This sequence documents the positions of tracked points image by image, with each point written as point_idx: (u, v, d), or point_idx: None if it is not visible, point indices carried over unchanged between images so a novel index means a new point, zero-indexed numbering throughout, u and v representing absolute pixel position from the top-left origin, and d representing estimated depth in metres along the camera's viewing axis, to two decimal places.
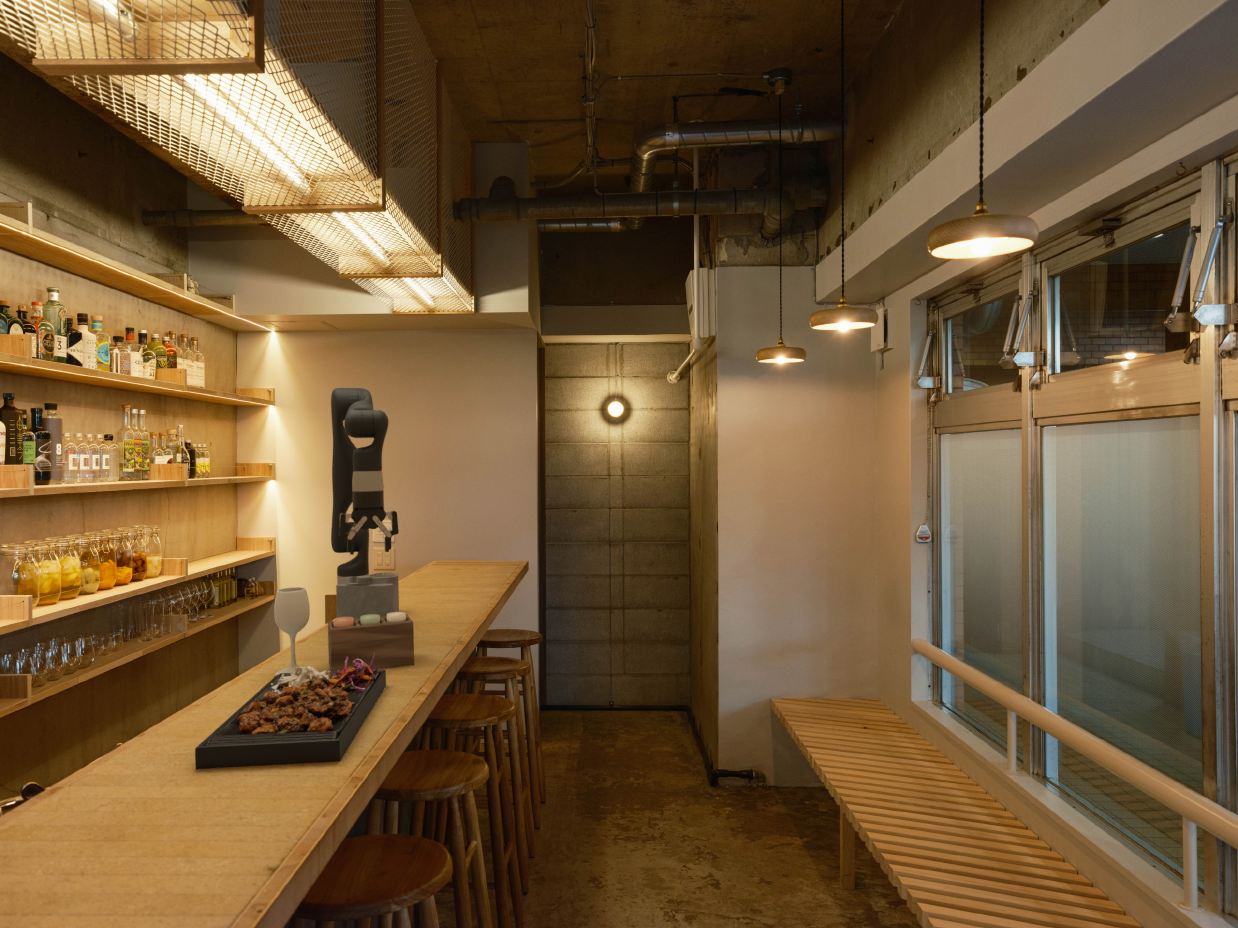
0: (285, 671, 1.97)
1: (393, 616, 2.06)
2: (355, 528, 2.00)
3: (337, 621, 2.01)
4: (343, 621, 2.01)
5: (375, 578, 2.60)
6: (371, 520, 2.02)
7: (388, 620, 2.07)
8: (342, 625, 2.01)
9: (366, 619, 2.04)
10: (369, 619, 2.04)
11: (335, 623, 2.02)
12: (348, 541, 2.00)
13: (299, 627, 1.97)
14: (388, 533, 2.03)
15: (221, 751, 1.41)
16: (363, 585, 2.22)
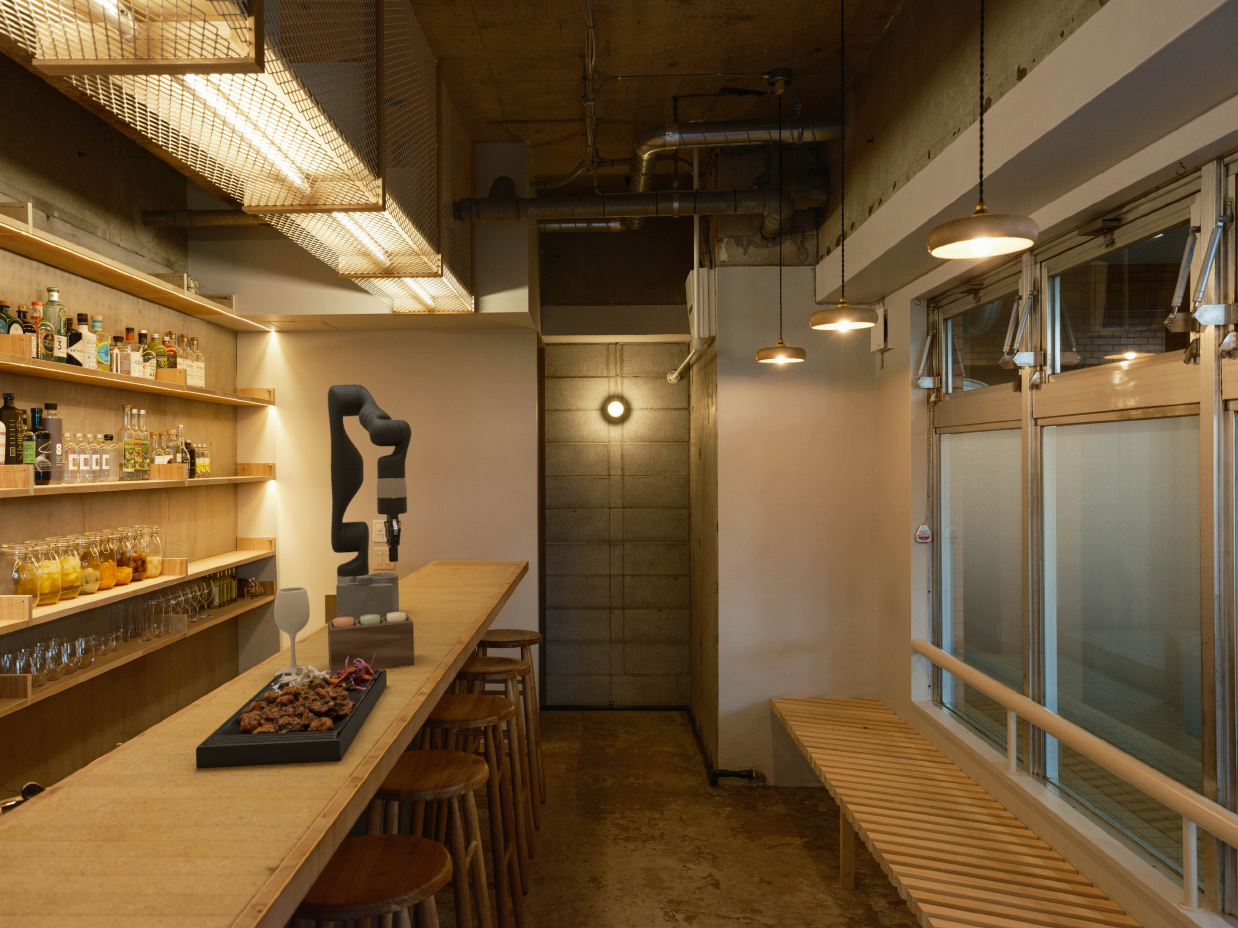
0: (285, 671, 1.97)
1: (393, 616, 2.06)
2: None
3: (337, 621, 2.01)
4: (343, 621, 2.01)
5: (375, 578, 2.60)
6: None
7: (388, 620, 2.07)
8: (342, 625, 2.01)
9: (366, 619, 2.04)
10: (369, 619, 2.04)
11: (335, 623, 2.02)
12: None
13: (299, 627, 1.97)
14: None
15: (222, 750, 1.41)
16: (363, 585, 2.22)
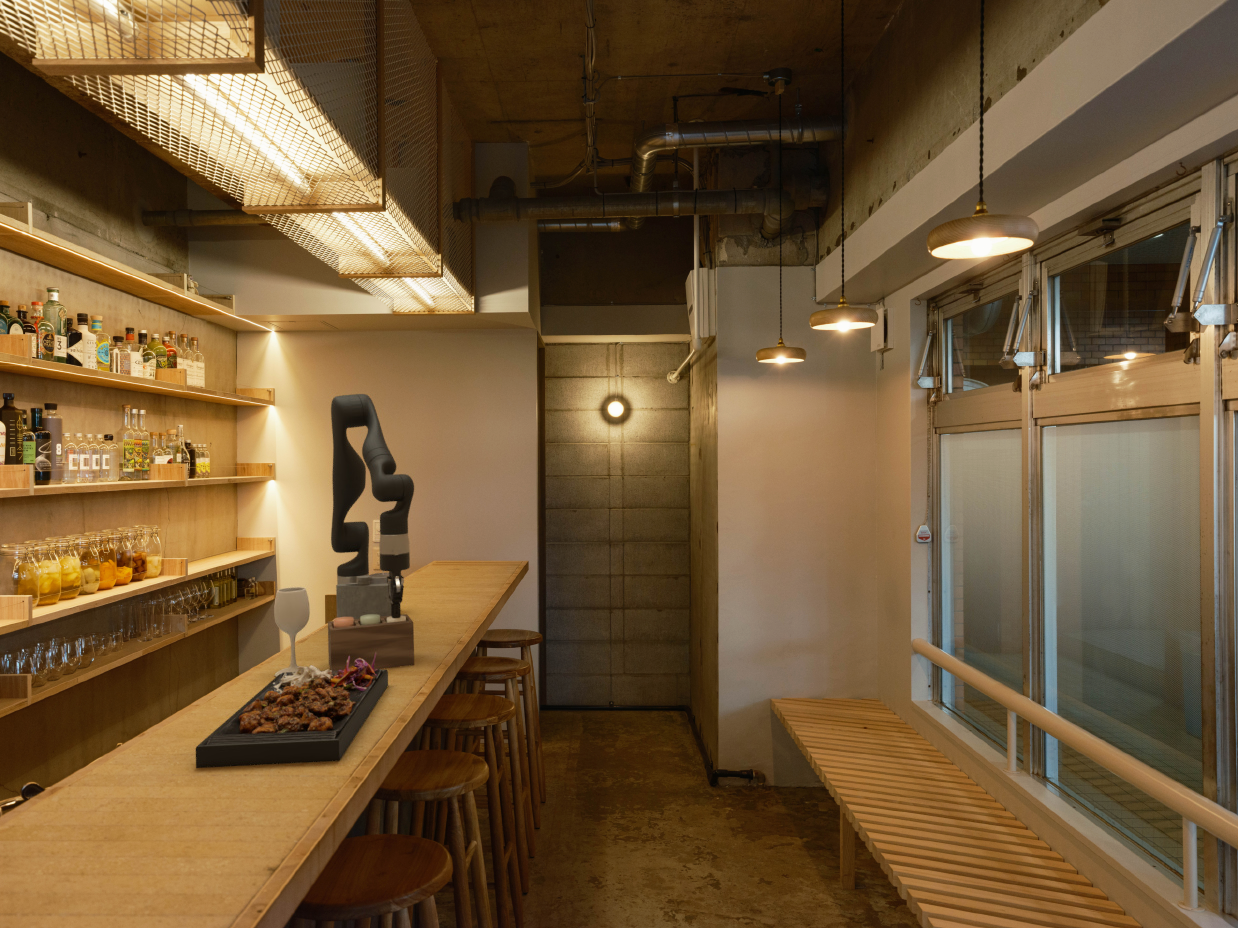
0: None
1: (393, 620, 2.06)
2: None
3: (337, 621, 2.01)
4: (343, 621, 2.01)
5: (375, 578, 2.60)
6: None
7: None
8: (342, 625, 2.01)
9: (366, 619, 2.04)
10: (369, 619, 2.04)
11: (335, 623, 2.02)
12: (398, 605, 2.08)
13: (299, 627, 1.97)
14: None
15: (221, 750, 1.41)
16: (363, 585, 2.22)
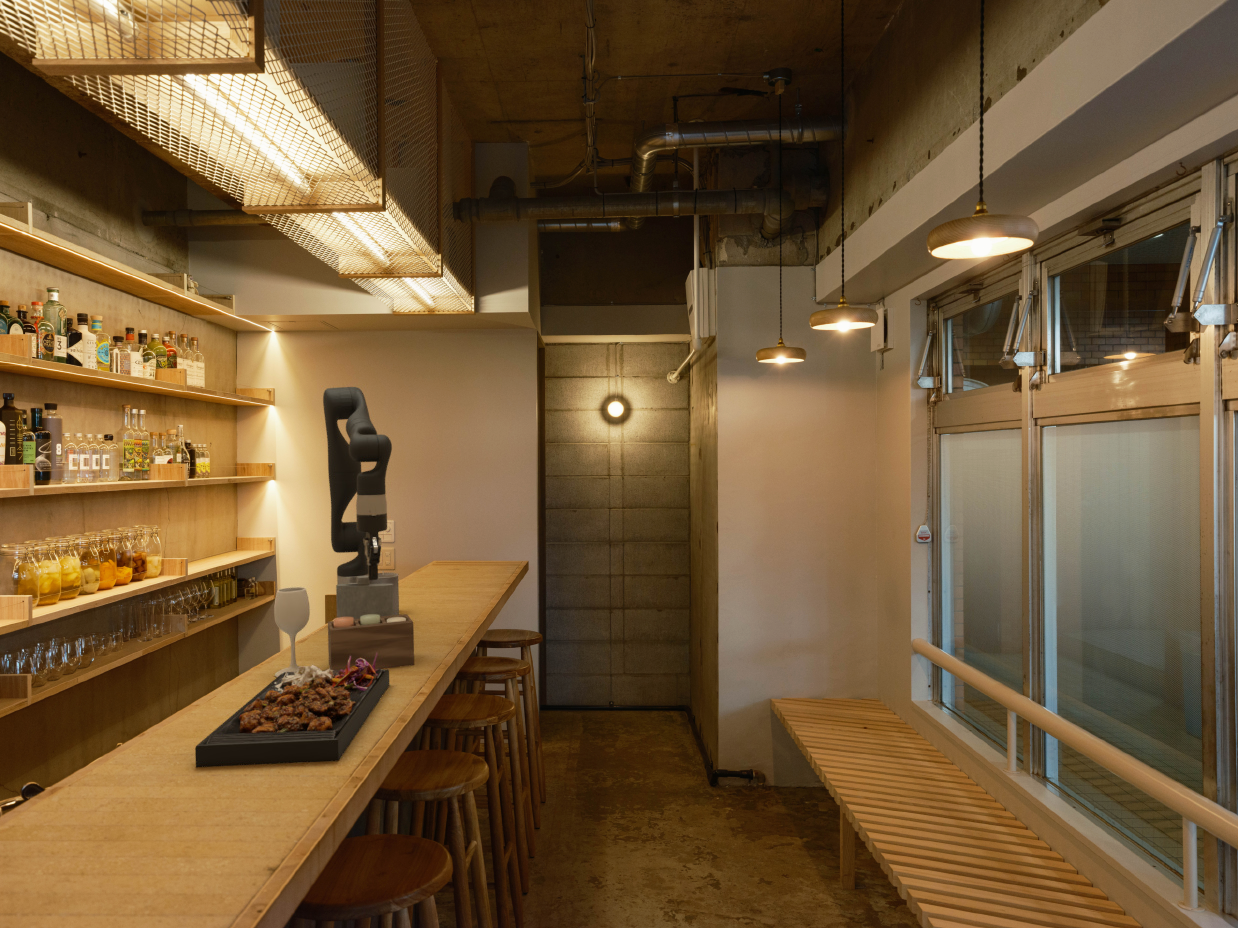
0: (285, 671, 1.97)
1: (393, 621, 2.06)
2: None
3: (337, 621, 2.01)
4: (343, 621, 2.01)
5: None
6: None
7: None
8: (342, 625, 2.01)
9: (366, 619, 2.04)
10: (369, 619, 2.04)
11: (335, 623, 2.02)
12: None
13: (299, 627, 1.97)
14: None
15: (221, 749, 1.42)
16: (363, 585, 2.22)
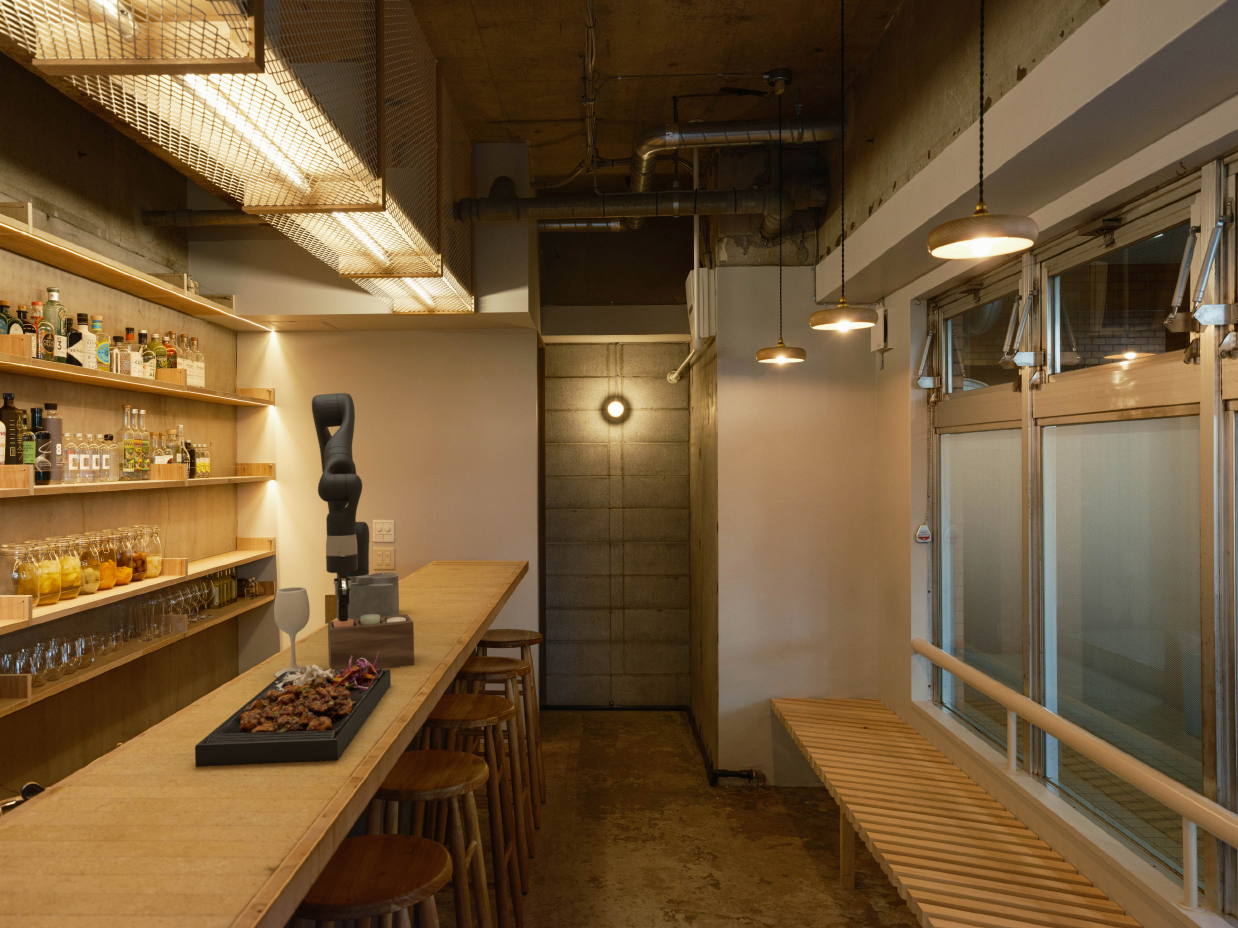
0: (285, 671, 1.97)
1: (393, 621, 2.06)
2: None
3: (337, 623, 2.01)
4: (343, 623, 2.01)
5: (375, 578, 2.60)
6: None
7: None
8: None
9: (366, 619, 2.04)
10: (369, 619, 2.04)
11: (335, 625, 2.02)
12: (346, 608, 2.03)
13: (299, 627, 1.97)
14: None
15: (220, 749, 1.42)
16: (363, 585, 2.22)
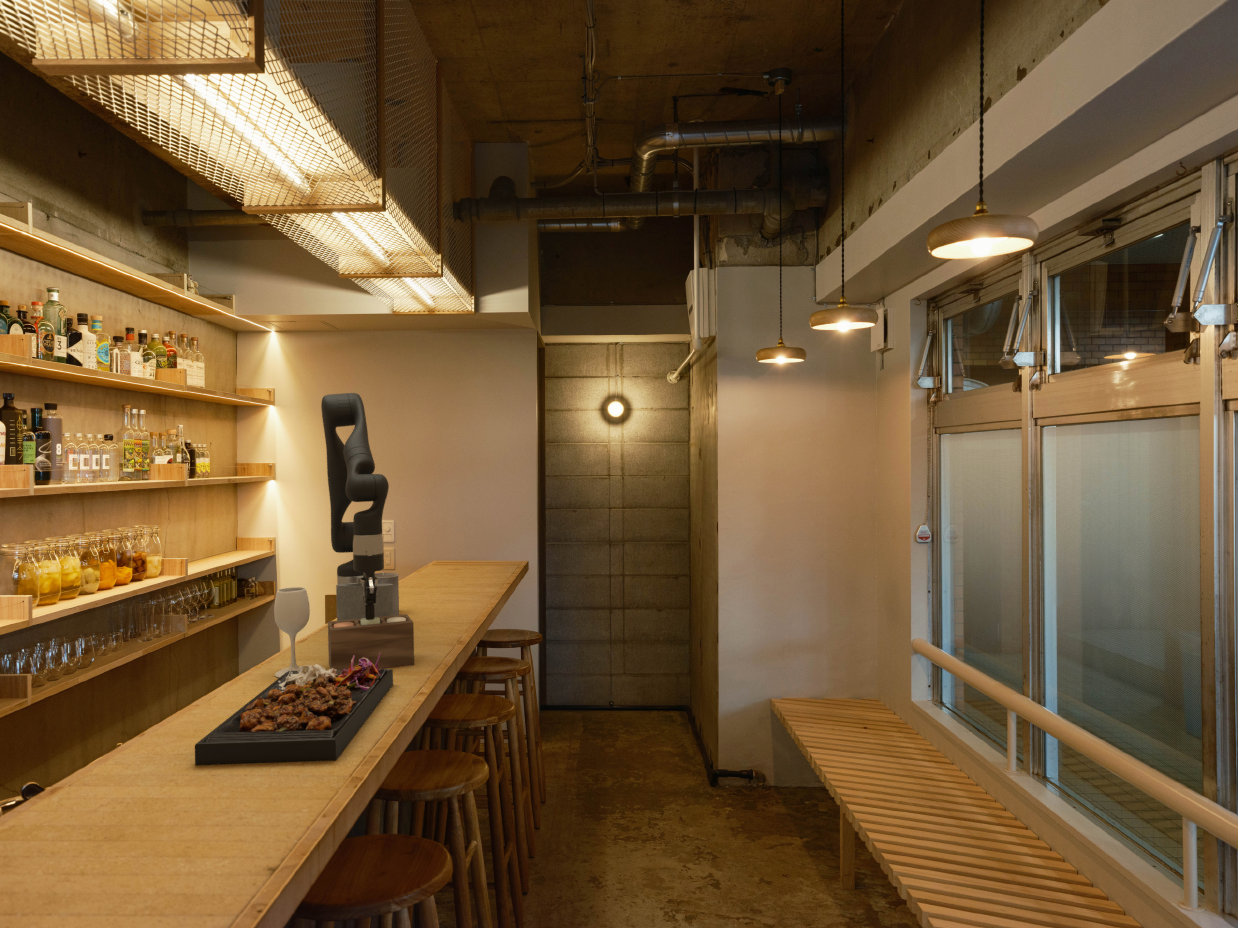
0: (285, 671, 1.97)
1: (393, 621, 2.06)
2: None
3: (337, 627, 2.01)
4: None
5: None
6: None
7: None
8: None
9: (366, 622, 2.04)
10: (369, 622, 2.04)
11: None
12: (372, 606, 2.05)
13: (299, 627, 1.97)
14: None
15: (220, 748, 1.42)
16: None
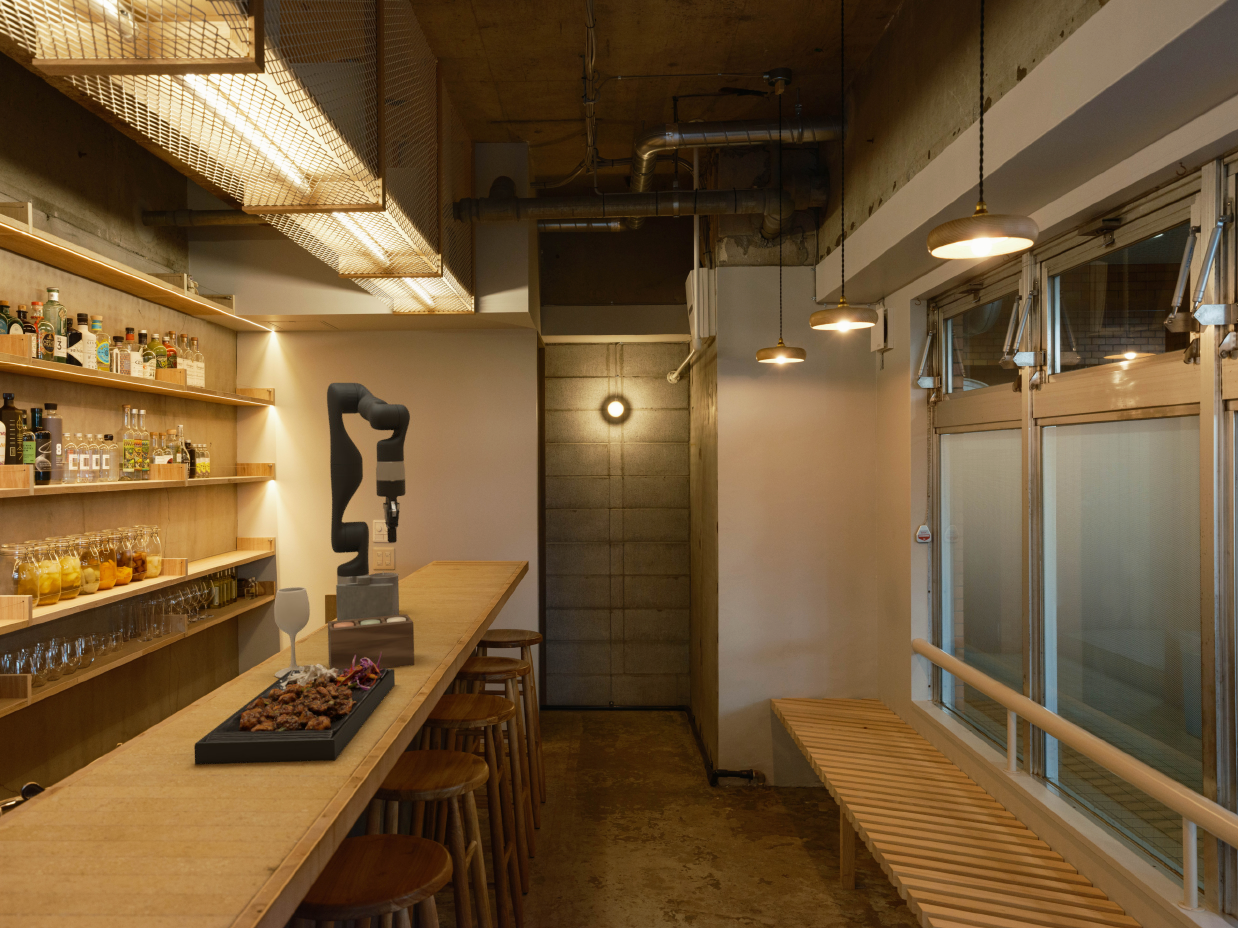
0: (285, 671, 1.97)
1: (393, 621, 2.06)
2: None
3: (337, 627, 2.01)
4: None
5: (375, 578, 2.60)
6: None
7: None
8: None
9: (366, 624, 2.04)
10: None
11: None
12: (395, 530, 2.16)
13: (299, 627, 1.97)
14: None
15: (219, 747, 1.43)
16: (363, 585, 2.22)
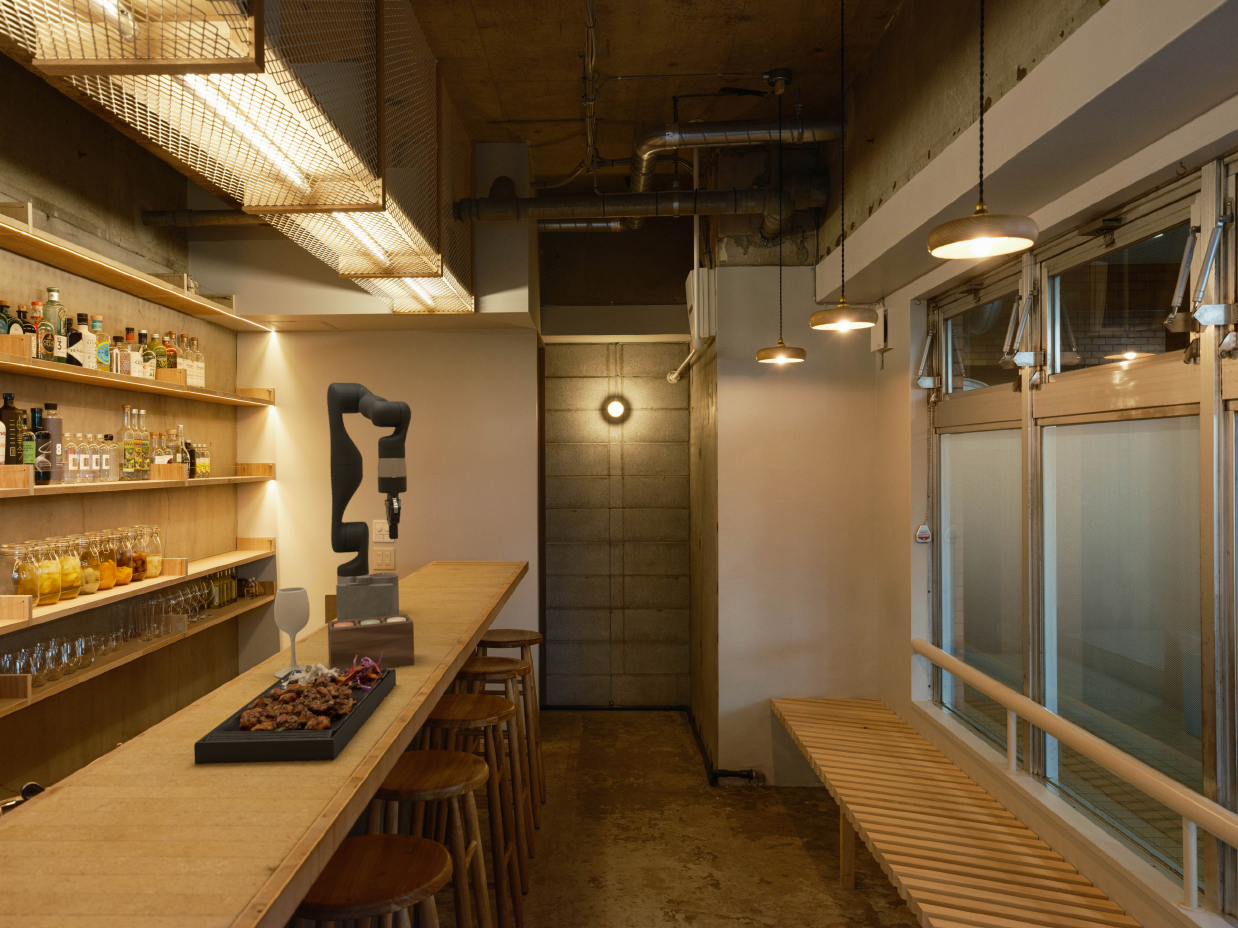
0: (285, 671, 1.97)
1: (393, 621, 2.06)
2: None
3: (337, 627, 2.01)
4: None
5: (375, 578, 2.60)
6: None
7: None
8: None
9: (366, 624, 2.04)
10: None
11: None
12: (396, 526, 2.16)
13: (299, 627, 1.97)
14: None
15: (219, 747, 1.43)
16: (363, 585, 2.22)
